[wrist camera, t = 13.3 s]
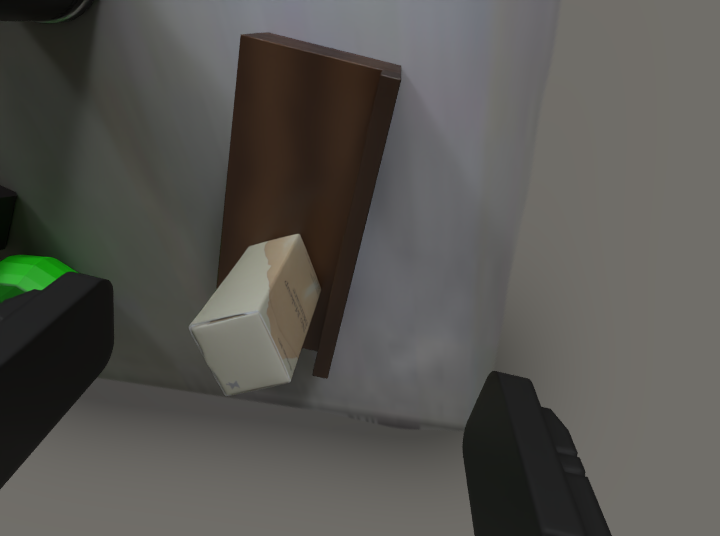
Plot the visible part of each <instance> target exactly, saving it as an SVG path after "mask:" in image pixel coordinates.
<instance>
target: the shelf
mask: <svg viewBox="0 0 720 536" xmlns="http://www.w3.org/2000/svg"><path fill="white" fill-rule="evenodd" d="M400 83H401V66H400V65H396V64H392V63H388V62H384V61H380V60H376V59H372V58H368V57H364V56H360V55H356V54H352V53H348V52H344V51H340V50H336V49H332V48H328V47H324V46H320V45H316V44H312V43H308V42H304V41H300V40H296V39H292V38H288V37H284V36H280V35H276V34H272V33H253V34H241V38H240V48H239V59H238V69H237V80H236V90H235V100H234V111H233V121H232V132H231V142H230V153H229V163H228V173H227V184H226V194H225V205H224V215H223V225H222V236H221V246H220V257H219V267H218V277H217V288H216V290H217V289H218V287H219V286H220V285H221V283H222V282H223V281H224V280H225V278H226V277H227V276H228V274H229V273H230V272H231V270H232V269H233V267H234V266H235V265H236V263H237V262H238V261H239V259H240V258H241V257H242V255H243V254H244V253H245V251H246V250H247V248H248V247H249V246H252V245H256V244H259V243H263V242H266V241H270V240H274V239H278V238H282V237H286V236H290V235H295V234H300V236H301V238H302V240H303V243H304V245H305V248H306V250H307V253H308V255H309V258H310V260H311V263H312V266H313V268H314V271H315V273H316V276H317V279H318V281H319V284H320V287H321V293H320V296H319V299H318V302H317V305H316V308H315V311H314V314H313V317H312V320H311V323H310V326H309V329H308V332H307V334H306V337H305V340H304V343H303V346H302V348H305V349H309V350H314V351H317V356H316V360H315V365H314V369H313V374H312V375H313V376H317V377H322V378H326V379H327V378H328V374H329V370H330V366H331V362H332V358H333V354H334V350H335V346H336V342H337V338H338V334H339V330H340V326H341V322H342V318H343V314H344V309H345V305H346V301H347V297H348V293H349V289H350V285H351V281H352V277H353V273H354V269H355V265H356V261H357V257H358V253H359V249H360V245H361V241H362V237H363V232H364V228H365V224H366V220H367V216H368V212H369V208H370V204H371V200H372V196H373V192H374V188H375V184H376V180H377V176H378V172H379V168H380V164H381V160H382V155H383V151H384V147H385V143H386V139H387V135H388V131H389V127H390V123H391V119H392V115H393V111H394V107H395V103H396V99H397V95H398V91H399V87H400Z"/></svg>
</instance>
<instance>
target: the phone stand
mask: <svg viewBox="0 0 720 536" xmlns="http://www.w3.org/2000/svg"><path fill="white" fill-rule="evenodd" d="M15 199H16V193H15V192H13V191H11V190H9V189H7V188H5V187H3V186H1V185H0V250H2V249H5V247H6V242H7V238H8V233H9V228H10V223H11V218H12V214H13V209H14V204H15Z"/></svg>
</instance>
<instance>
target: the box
mask: <svg viewBox="0 0 720 536" xmlns="http://www.w3.org/2000/svg"><path fill="white" fill-rule="evenodd" d="M320 293H321V287H320V284H319V281H318V279H317V276H316V273H315V271H314V268H313V266H312V263H311V260H310V258H309V255H308V253H307V250H306V248H305V245H304V243H303V240H302V238H301V236H300V234H295V235H290V236H286V237H282V238H278V239H274V240H270V241H266V242H263V243H259V244H256V245H252V246H249V247H248V248H247V250H246V251H245V253H244V254H243V255H242V257H241V258H240V259H239V261H238V262H237V263H236V265H235V266H234V267H233V269H232V270H231V272H230V273H229V274H228V276H227V277H226V278H225V280H224V281H223V282H222V283H221V285H220V286H219V287H218V289H217V290H216V291H215V293H214V294H213V295H212V297H211V298H210V299H209V301H208V302H207V303H206V305H205V306H204V307H203V309H202V310H201V311H200V313H199V314H198V315H197V317H196V318H195V319H194V320H193V322H192V323H191V324H190V326H189V330H190V333H191V334H192V336H193V338H194V340H195V342H196V344H197V346H198V347H199V349H200V351H201V353H202V355H203V357H204V359H205V361H206V363H207V364H208V366H209V368H210V370H211V371H212V373H213V375H214V377H215V378H216V380H217V382H218V384H219V386H220V387H221V389H222V391H223V393H224V394H225V395H226V396H230V395H235V394H240V393H246V392H251V391H255V390H260V389H264V388H269V387H273V386H277V385H282V384H287V383H290V381H291V379H292V376H293V373H294V370H295V367H296V364H297V361H298V358H299V355H300V352H301V349H302V346H303V343H304V340H305V337H306V334H307V332H308V329H309V326H310V323H311V320H312V317H313V314H314V311H315V308H316V305H317V302H318V299H319V296H320Z"/></svg>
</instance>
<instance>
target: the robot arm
mask: <svg viewBox="0 0 720 536" xmlns="http://www.w3.org/2000/svg"><path fill="white" fill-rule="evenodd" d="M93 1H94V0H0V21H33V22H38V23H62V22H67V21H70V20H73V19H75V18H77V17H78V16H80V15H81V14H83V13H84V12H85V11H86V10H87V9H88V8H89V7H90V5H91V4H92V2H93ZM113 345H114V307H113V286H112V284H111V282H110V281H109V280H106V279H102V278H97V277H93V276H89V275H84V274H80V273H76V272H66V273H65V274H63V275H62V276H60V277H59V278H58V279H56V280H55V281H53V282H52V283H51V284H49V285H48V286H47V287H45V288H44V289H43V290H37V289H33V290H30V291H28V292H25V293H22V294H20V295H17V296H14V297H12V298H9V299H6V300H4V301H3V302H1V303H0V489H1V488H2V487H3V486H4V484H5V483H6V482H7V481H8V480H9V479H10V477H11V476H12V475H13V474H14V473H15V472H16V470H17V469H18V468H19V467H20V466H21V465H22V464H23V462H24V461H25V460H26V459H27V458H28V456H29V455H30V454H31V453H32V452H33V451H34V450H35V448H36V447H37V446H38V445H39V444H40V442H41V441H42V440H43V439H44V438H45V437H46V436H47V435H48V433H49V432H50V431H51V430H52V429H53V428H54V426H55V425H56V424H57V423H58V422H59V421H60V419H61V418H62V417H63V416H64V415H65V414H66V412H67V411H68V410H69V409H70V408H71V407H72V406H73V404H74V403H75V402H76V401H77V400H78V399H79V397H80V396H81V395H82V394H83V393H84V392H85V390H86V389H87V388H88V387H89V386H90V385H91V384H92V382H93V381H94V380H95V379H96V378H97V377H98V375H99V374H100V373H101V372H102V371H103V369H104V368H105V366H106V365H107V363H108V361H109V359H110V356H111V353H112V350H113ZM463 458H464V465H465V472H466V478H467V486H468V493H469V500H470V507H471V514H472V521H473V527H474V535H475V536H612V535H611V533H610V530H609V528H608V526H607V523H606V521H605V518H604V516H603V513H602V511H601V509H600V506H599V504H598V501H597V499H596V496H595V494H594V492H593V489H592V487H591V484H590V482H589V480H588V477H585V470H584V467H583V465H582V462H581V460H580V458H579V457H577V450H576V448H575V445H574V443H573V441H572V438H571V435H570V433H569V431H568V429H567V428H566V427H565V426H564V424H563V423H562V422H561V421H560V420H559V419H558V417H557V416H556V415H555V414H554V413H553V411H552V410H551V409H548V408H544V407H541V405H540V403H539V400H538V397H537V395H536V392H535V389H534V386H533V384H532V382H531V381H530V379H527V378H523V377H519V376H514V375H510V374H506V373H501V372H497V371H492V372H491V373H490V374H489V375H488V377H487V379H486V381H485V384H484V386H483V388H482V390H481V392H480V395H479V397H478V399H477V401H476V403H475V406H474V408H473V410H472V412H471V415H470V417H469V419H468V421H467V424H466V427H465V431H464V437H463Z"/></svg>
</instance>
